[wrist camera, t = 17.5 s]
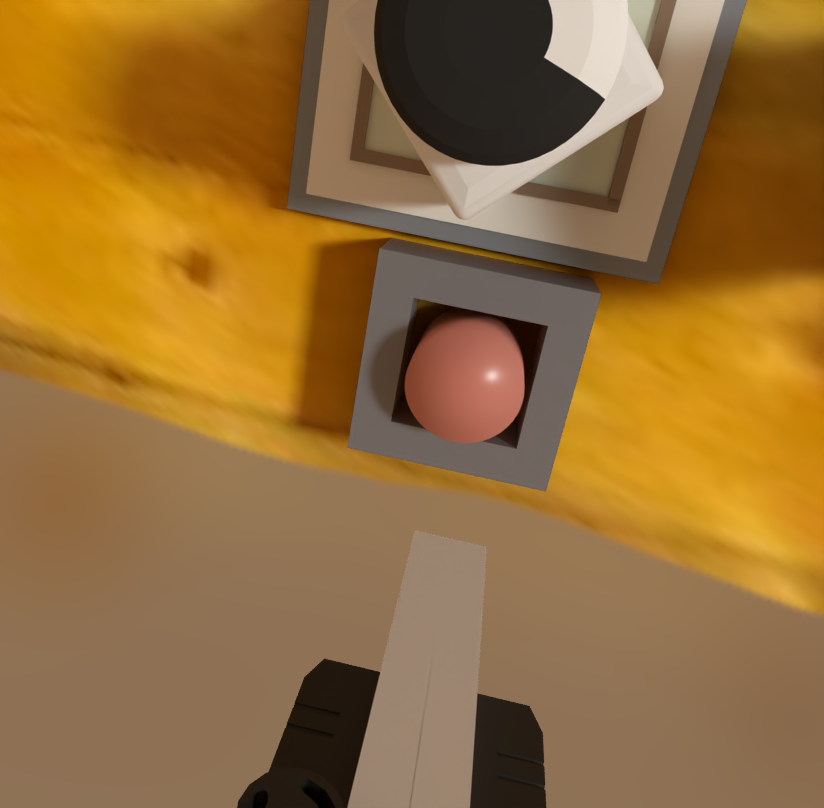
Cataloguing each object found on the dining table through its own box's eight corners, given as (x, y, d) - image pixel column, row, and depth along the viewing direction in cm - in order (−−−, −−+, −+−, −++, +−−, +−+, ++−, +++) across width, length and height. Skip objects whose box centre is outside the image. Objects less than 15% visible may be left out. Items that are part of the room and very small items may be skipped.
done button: (408, 396, 34) (395, 429, 30) (427, 296, 32) (416, 318, 29) (509, 418, 34) (509, 454, 30) (534, 318, 32) (537, 344, 28)
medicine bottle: (471, 207, 30) (447, 245, 19) (375, 45, 28) (285, -19, 17) (632, 104, 28) (715, 77, 17) (538, -76, 26) (559, -241, 15)
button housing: (360, 422, 36) (347, 447, 33) (391, 237, 32) (379, 248, 29) (543, 462, 35) (545, 491, 32) (593, 278, 32) (601, 293, 29)
